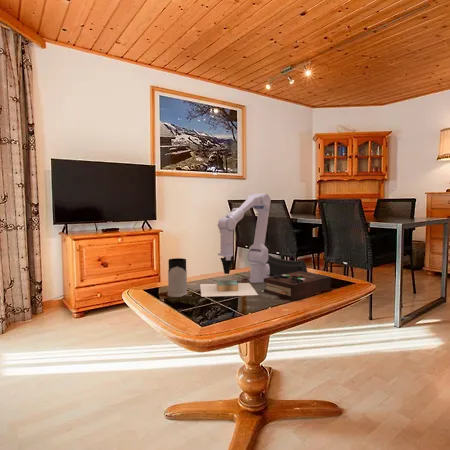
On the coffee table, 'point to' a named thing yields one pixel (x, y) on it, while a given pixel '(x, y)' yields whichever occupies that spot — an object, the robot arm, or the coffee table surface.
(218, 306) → the coffee table surface
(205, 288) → the mat
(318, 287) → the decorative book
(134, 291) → the coffee table surface
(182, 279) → the glass holder
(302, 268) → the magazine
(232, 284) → the tile
